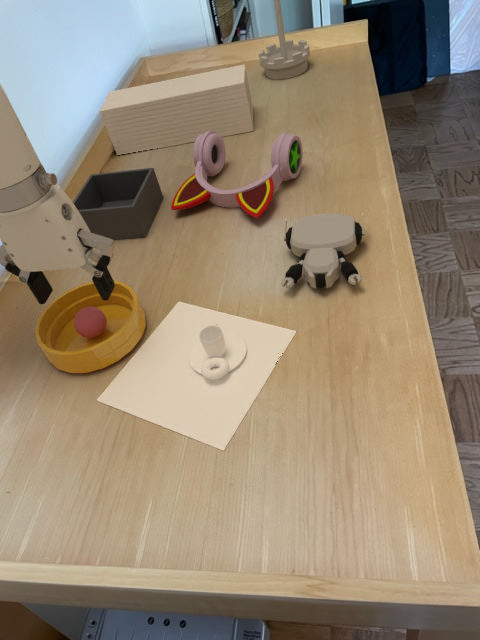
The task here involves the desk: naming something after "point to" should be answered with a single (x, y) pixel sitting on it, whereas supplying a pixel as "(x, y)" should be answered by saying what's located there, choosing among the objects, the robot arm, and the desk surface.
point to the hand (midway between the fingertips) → (77, 295)
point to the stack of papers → (179, 110)
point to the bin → (120, 203)
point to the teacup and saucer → (199, 372)
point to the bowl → (90, 353)
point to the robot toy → (323, 249)
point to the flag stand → (284, 53)
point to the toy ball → (90, 322)
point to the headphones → (249, 197)
